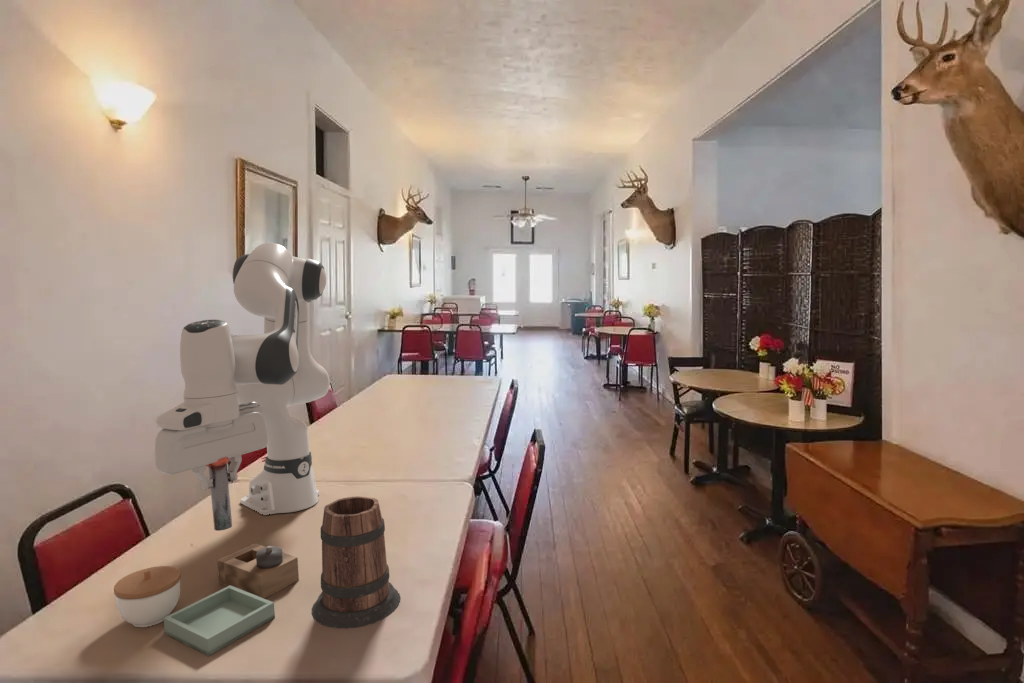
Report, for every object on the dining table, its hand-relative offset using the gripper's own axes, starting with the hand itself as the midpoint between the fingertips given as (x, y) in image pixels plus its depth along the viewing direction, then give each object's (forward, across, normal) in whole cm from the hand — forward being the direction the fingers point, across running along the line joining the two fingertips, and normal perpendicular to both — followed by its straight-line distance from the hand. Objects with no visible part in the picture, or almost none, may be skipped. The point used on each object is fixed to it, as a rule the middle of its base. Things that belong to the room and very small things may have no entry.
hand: (219, 484), depth 112 cm
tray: (+26, +2, 0) cm, 26 cm away
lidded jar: (+26, +7, -14) cm, 30 cm away
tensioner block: (+26, -12, -8) cm, 29 cm away
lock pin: (+8, 0, 0) cm, 8 cm away
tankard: (+27, -18, +14) cm, 35 cm away
